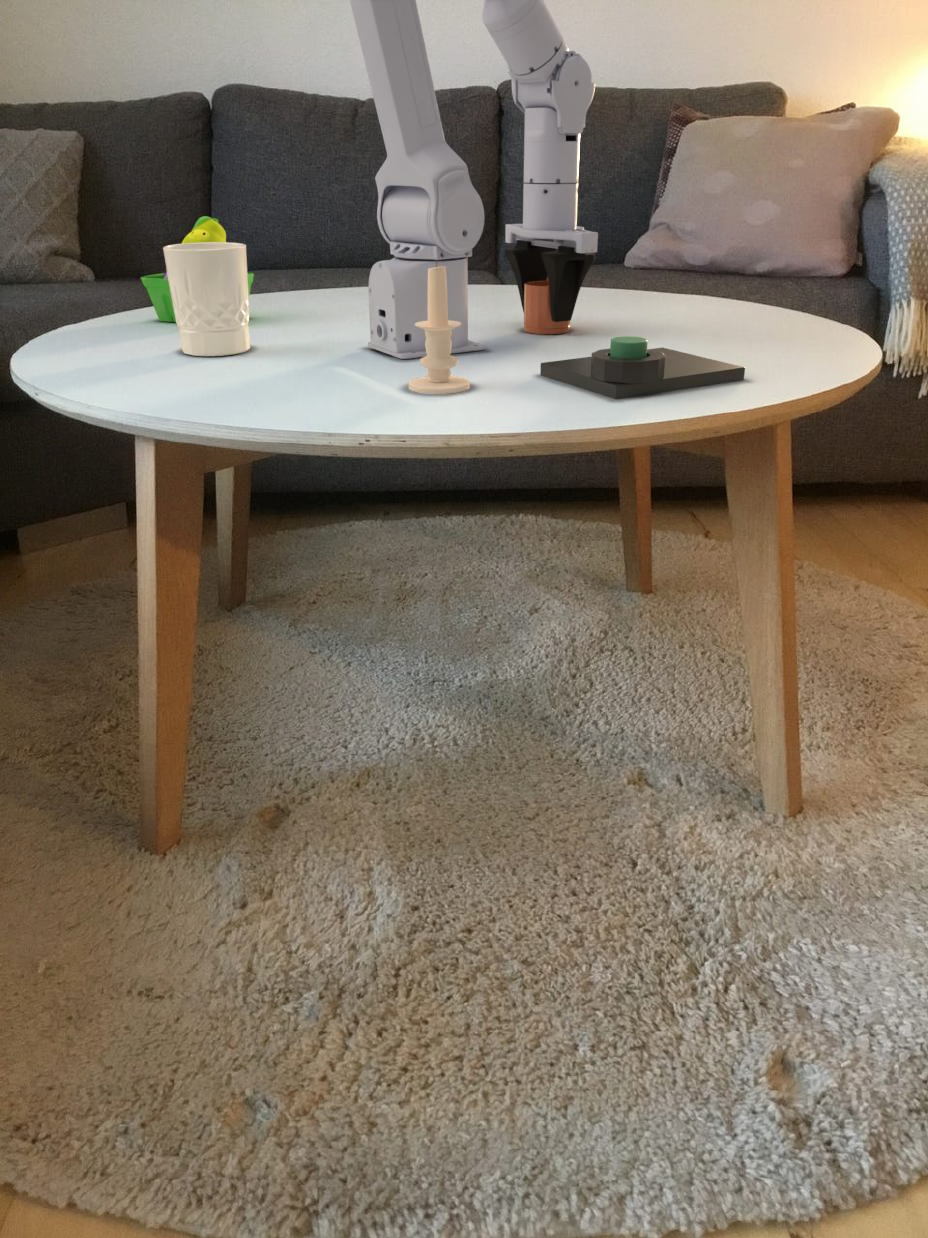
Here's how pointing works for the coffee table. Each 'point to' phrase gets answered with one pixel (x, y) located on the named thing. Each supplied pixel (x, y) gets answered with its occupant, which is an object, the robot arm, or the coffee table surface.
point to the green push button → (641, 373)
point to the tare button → (628, 347)
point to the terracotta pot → (540, 310)
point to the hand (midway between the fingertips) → (547, 317)
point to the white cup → (210, 296)
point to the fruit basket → (159, 283)
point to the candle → (438, 341)
